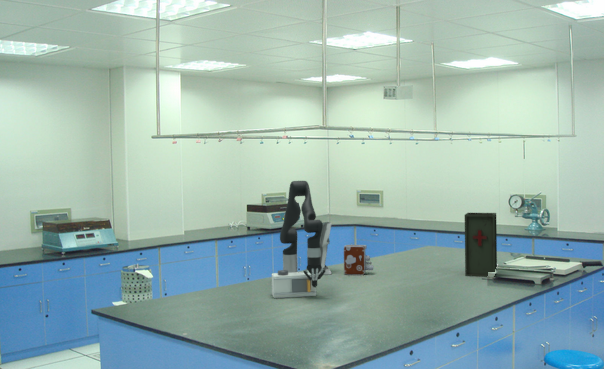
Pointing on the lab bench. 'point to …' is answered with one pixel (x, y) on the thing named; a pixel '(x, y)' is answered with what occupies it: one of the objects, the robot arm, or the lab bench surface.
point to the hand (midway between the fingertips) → (314, 286)
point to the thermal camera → (325, 246)
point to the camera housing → (289, 284)
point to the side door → (300, 285)
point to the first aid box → (480, 244)
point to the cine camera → (356, 260)
